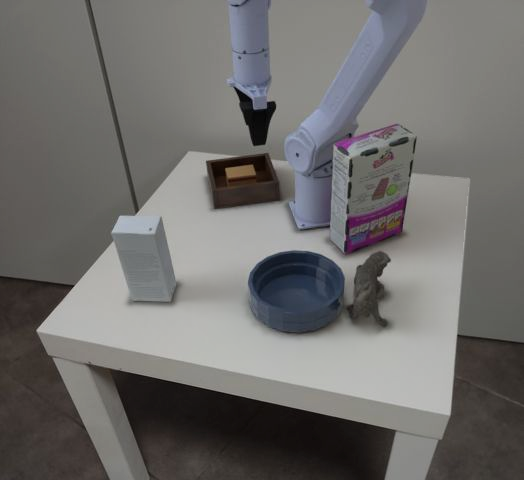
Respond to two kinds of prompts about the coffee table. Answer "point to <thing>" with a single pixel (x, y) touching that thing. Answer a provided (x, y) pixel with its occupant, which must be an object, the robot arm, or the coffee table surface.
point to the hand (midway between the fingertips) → (255, 134)
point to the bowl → (296, 290)
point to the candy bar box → (370, 187)
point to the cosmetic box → (145, 257)
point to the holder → (246, 193)
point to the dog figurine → (369, 287)
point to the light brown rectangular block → (240, 175)
